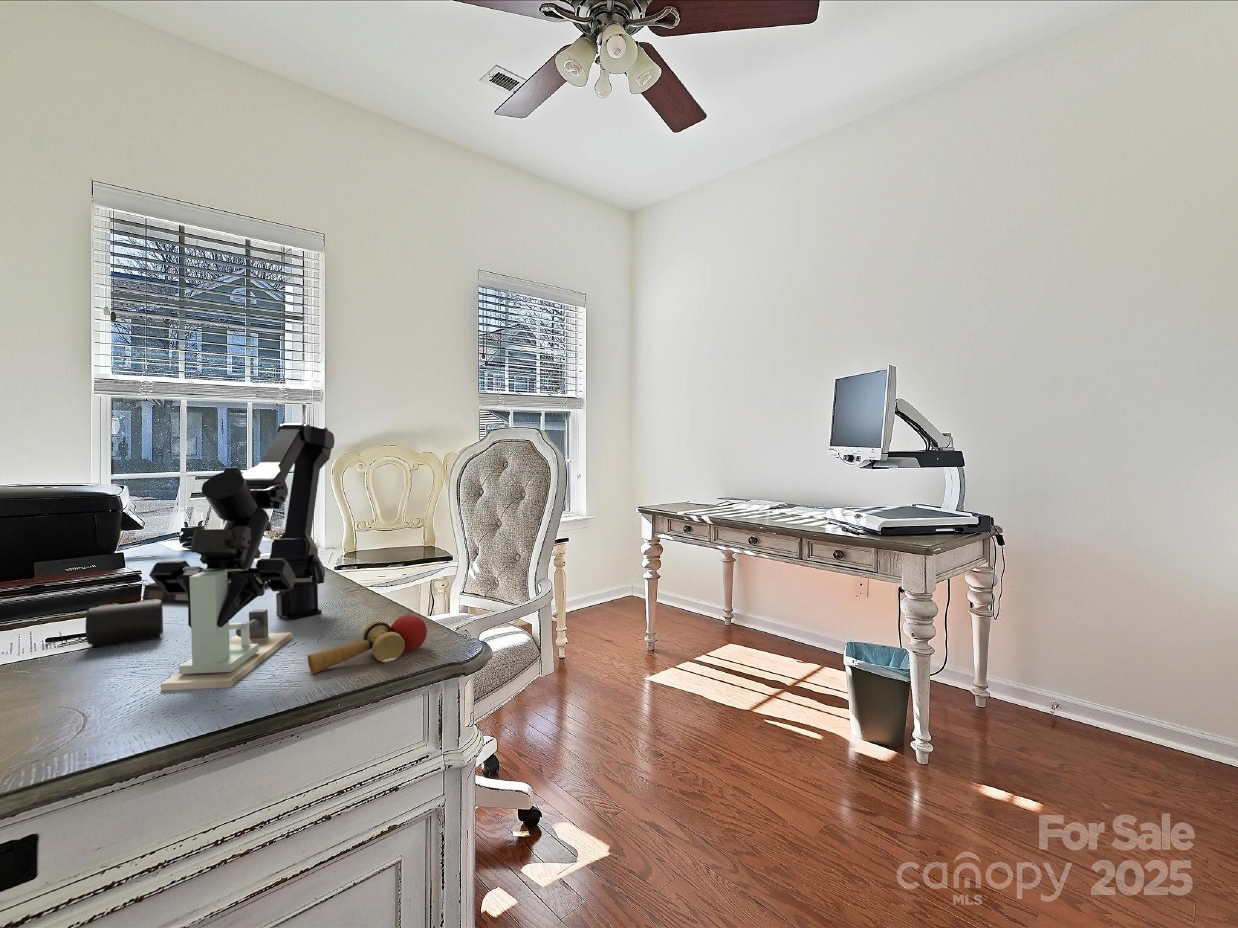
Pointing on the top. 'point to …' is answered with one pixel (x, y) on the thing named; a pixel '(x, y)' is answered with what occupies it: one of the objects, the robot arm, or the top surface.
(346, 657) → the kendama
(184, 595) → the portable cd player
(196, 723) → the top surface
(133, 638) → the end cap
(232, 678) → the board
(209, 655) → the tall sage green column
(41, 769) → the top surface
